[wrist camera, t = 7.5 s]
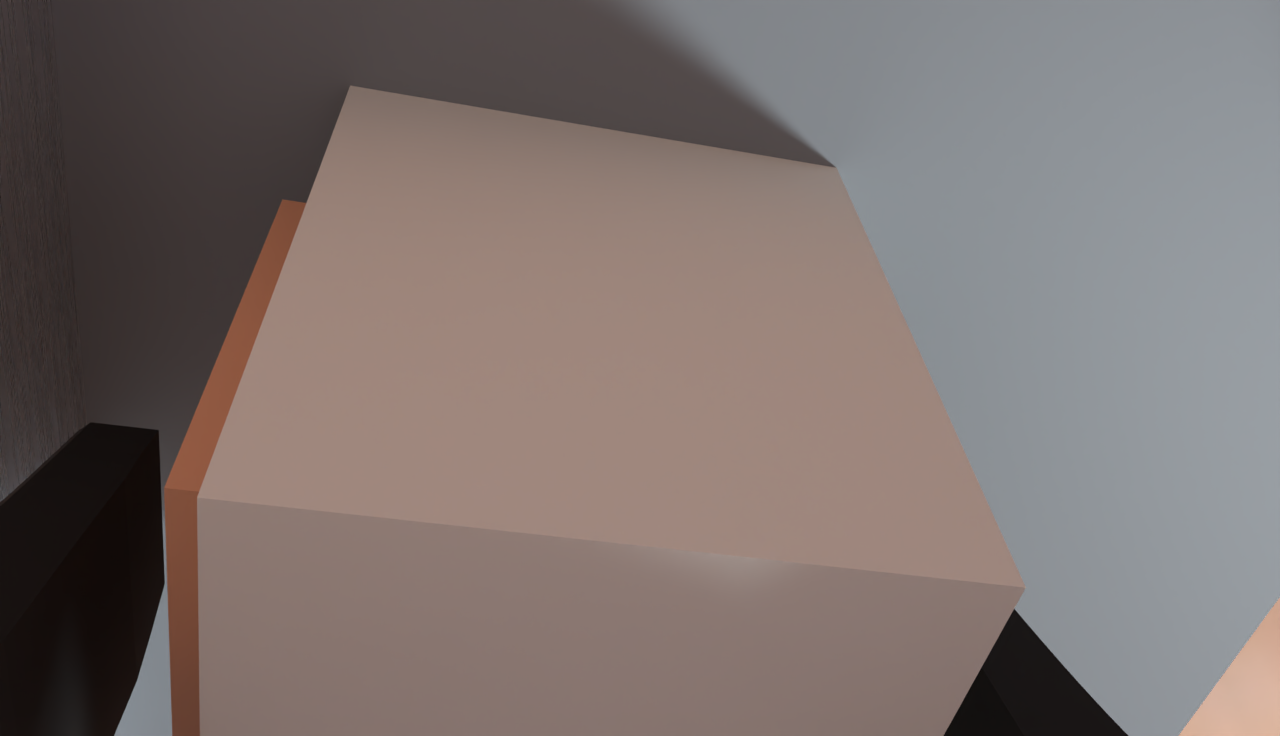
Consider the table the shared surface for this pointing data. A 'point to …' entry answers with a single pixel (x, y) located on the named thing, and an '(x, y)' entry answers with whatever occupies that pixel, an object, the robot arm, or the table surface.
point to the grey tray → (765, 125)
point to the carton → (571, 455)
